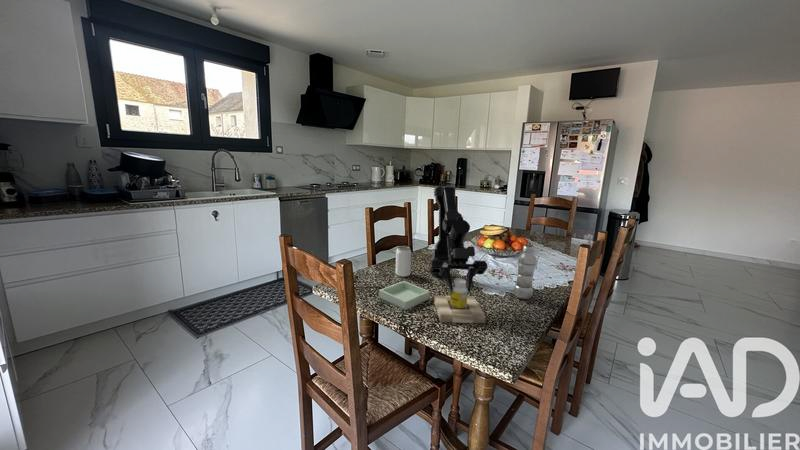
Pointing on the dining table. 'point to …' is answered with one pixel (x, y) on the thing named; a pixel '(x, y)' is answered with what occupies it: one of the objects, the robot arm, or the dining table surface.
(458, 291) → the supplement bottle
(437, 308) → the socket block
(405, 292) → the tray
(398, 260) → the can
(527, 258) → the plastic bottle
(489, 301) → the dining table surface
